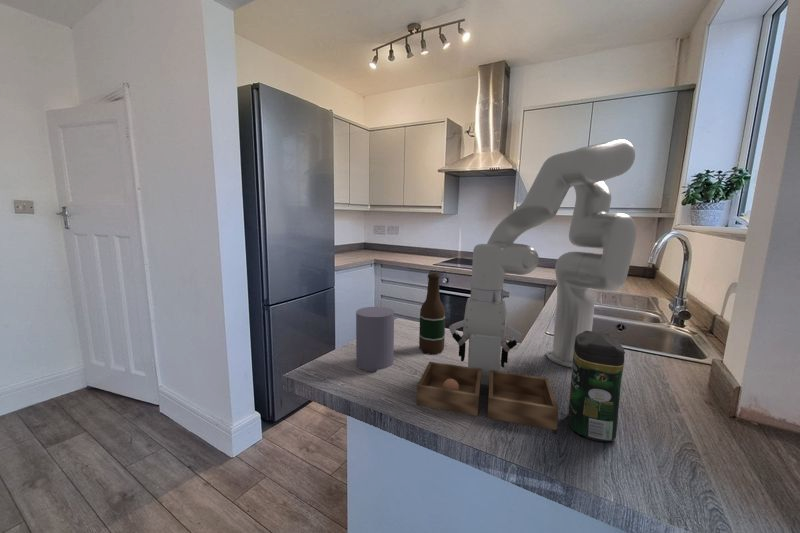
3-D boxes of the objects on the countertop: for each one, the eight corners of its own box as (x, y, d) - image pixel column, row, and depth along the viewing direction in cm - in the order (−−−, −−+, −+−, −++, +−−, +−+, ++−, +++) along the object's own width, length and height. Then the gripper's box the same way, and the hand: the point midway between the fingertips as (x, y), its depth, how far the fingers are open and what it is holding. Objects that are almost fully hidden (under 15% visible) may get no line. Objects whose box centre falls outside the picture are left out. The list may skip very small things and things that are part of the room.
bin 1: (480, 388, 76) (481, 369, 76) (477, 419, 64) (478, 396, 64) (428, 380, 80) (429, 361, 79) (416, 408, 68) (417, 386, 67)
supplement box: (499, 389, 76) (502, 338, 75) (467, 385, 78) (469, 335, 76) (496, 375, 84) (498, 328, 82) (467, 372, 85) (469, 326, 83)
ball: (459, 392, 73) (460, 377, 73) (457, 400, 70) (458, 384, 69) (443, 389, 74) (444, 374, 74) (441, 397, 71) (441, 382, 70)
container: (368, 353, 96) (368, 305, 94) (399, 360, 91) (400, 309, 89) (348, 367, 87) (348, 313, 85) (382, 375, 82) (382, 319, 80)
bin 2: (546, 399, 72) (548, 378, 71) (556, 434, 60) (558, 409, 60) (488, 390, 76) (489, 370, 75) (487, 421, 64) (488, 397, 63)
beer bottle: (445, 355, 96) (448, 276, 92) (419, 354, 96) (421, 275, 92) (442, 345, 103) (445, 272, 100) (418, 344, 103) (420, 271, 100)
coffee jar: (565, 409, 68) (573, 325, 66) (609, 419, 65) (619, 331, 63) (569, 436, 60) (578, 340, 57) (619, 449, 56) (631, 348, 54)
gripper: (523, 295, 79) (518, 361, 81) (452, 289, 84) (449, 351, 86) (525, 301, 72) (520, 374, 74) (448, 294, 77) (445, 363, 79)
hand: (482, 362), depth 80 cm, fingers open, 9 cm apart
